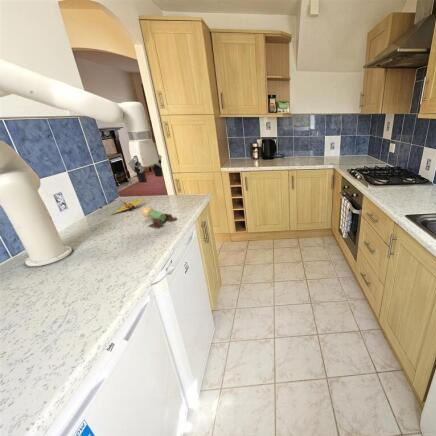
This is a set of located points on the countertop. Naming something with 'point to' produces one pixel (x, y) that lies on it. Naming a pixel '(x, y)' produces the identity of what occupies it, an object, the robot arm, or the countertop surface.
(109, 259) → the countertop surface
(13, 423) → the countertop surface
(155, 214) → the peg doll
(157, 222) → the stand
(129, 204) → the origami crane
